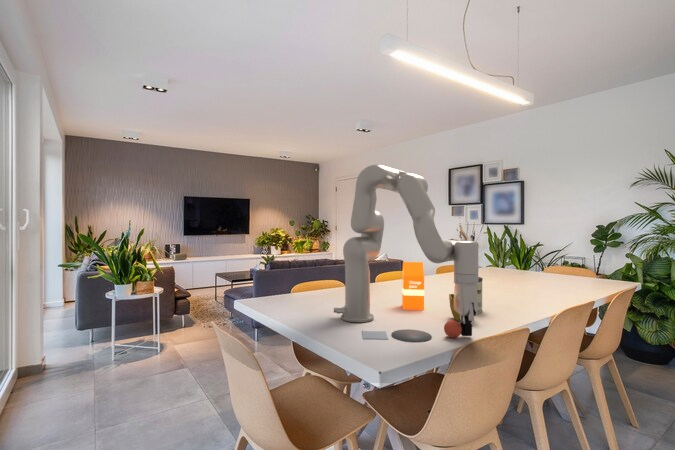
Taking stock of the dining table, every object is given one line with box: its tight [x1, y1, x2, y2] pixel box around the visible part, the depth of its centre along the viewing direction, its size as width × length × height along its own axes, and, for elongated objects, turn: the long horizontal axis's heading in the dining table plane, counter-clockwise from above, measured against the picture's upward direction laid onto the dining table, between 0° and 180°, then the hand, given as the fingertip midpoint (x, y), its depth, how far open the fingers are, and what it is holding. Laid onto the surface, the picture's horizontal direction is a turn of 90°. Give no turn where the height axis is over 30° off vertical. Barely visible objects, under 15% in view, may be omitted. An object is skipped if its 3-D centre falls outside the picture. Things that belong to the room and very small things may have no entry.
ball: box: [443, 319, 462, 339], centre depth 119 cm, size 6×6×6 cm
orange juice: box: [401, 261, 425, 311], centre depth 161 cm, size 8×9×20 cm
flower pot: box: [448, 293, 460, 322], centre depth 141 cm, size 9×9×9 cm
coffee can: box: [476, 276, 484, 314], centre depth 156 cm, size 10×10×14 cm
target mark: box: [390, 328, 433, 343], centre depth 121 cm, size 13×13×1 cm
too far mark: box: [361, 330, 389, 340], centre depth 121 cm, size 8×8×1 cm
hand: (466, 335), depth 119 cm, fingers closed
